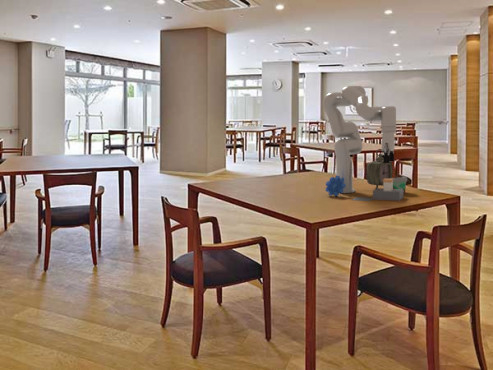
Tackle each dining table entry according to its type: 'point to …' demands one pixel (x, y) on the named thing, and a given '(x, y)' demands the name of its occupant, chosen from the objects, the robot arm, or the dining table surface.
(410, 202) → the dining table surface
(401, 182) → the food container
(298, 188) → the dining table surface
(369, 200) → the mat
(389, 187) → the plug
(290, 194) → the dining table surface
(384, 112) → the robot arm
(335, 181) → the blue gear
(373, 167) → the tabletop clock
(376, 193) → the grey rectangular box
